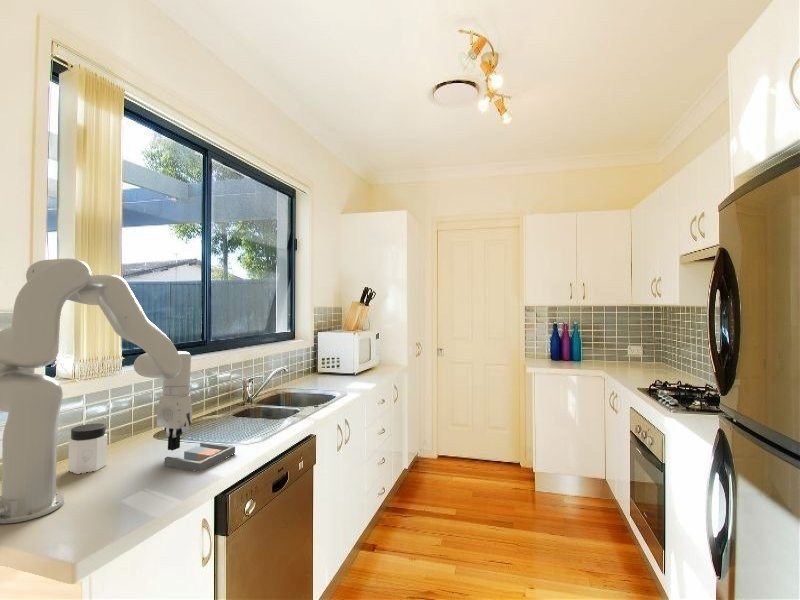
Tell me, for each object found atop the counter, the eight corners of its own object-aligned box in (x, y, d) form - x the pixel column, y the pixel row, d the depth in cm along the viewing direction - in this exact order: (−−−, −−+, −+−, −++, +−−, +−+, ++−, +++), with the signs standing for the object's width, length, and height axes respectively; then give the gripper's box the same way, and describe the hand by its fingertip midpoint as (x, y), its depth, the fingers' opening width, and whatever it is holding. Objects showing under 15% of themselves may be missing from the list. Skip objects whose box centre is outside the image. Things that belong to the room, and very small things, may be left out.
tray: (199, 472, 119) (199, 463, 119) (164, 466, 123) (164, 457, 123) (234, 454, 134) (235, 446, 134) (202, 449, 137) (202, 442, 137)
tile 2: (210, 465, 125) (210, 455, 125) (196, 463, 126) (197, 453, 126) (221, 459, 130) (222, 449, 130) (208, 457, 131) (208, 448, 131)
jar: (66, 476, 115) (67, 433, 115) (69, 466, 122) (70, 426, 122) (105, 469, 120) (106, 428, 120) (107, 460, 127) (108, 421, 127)
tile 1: (197, 463, 126) (197, 453, 126) (183, 461, 128) (184, 451, 128) (209, 457, 131) (209, 448, 131) (196, 455, 133) (196, 446, 133)
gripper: (147, 390, 130) (145, 449, 129) (185, 394, 125) (183, 455, 125) (167, 387, 137) (165, 442, 136) (204, 390, 133) (201, 448, 132)
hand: (173, 448), depth 131 cm, fingers closed
